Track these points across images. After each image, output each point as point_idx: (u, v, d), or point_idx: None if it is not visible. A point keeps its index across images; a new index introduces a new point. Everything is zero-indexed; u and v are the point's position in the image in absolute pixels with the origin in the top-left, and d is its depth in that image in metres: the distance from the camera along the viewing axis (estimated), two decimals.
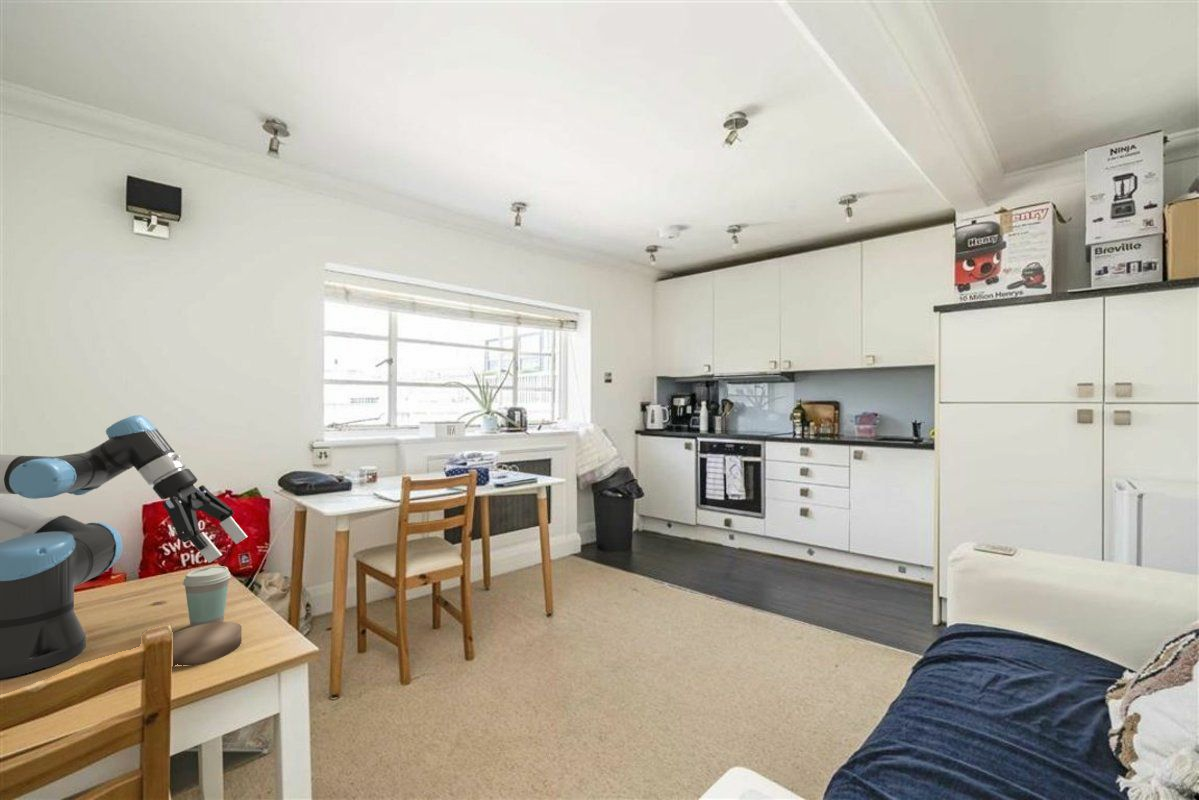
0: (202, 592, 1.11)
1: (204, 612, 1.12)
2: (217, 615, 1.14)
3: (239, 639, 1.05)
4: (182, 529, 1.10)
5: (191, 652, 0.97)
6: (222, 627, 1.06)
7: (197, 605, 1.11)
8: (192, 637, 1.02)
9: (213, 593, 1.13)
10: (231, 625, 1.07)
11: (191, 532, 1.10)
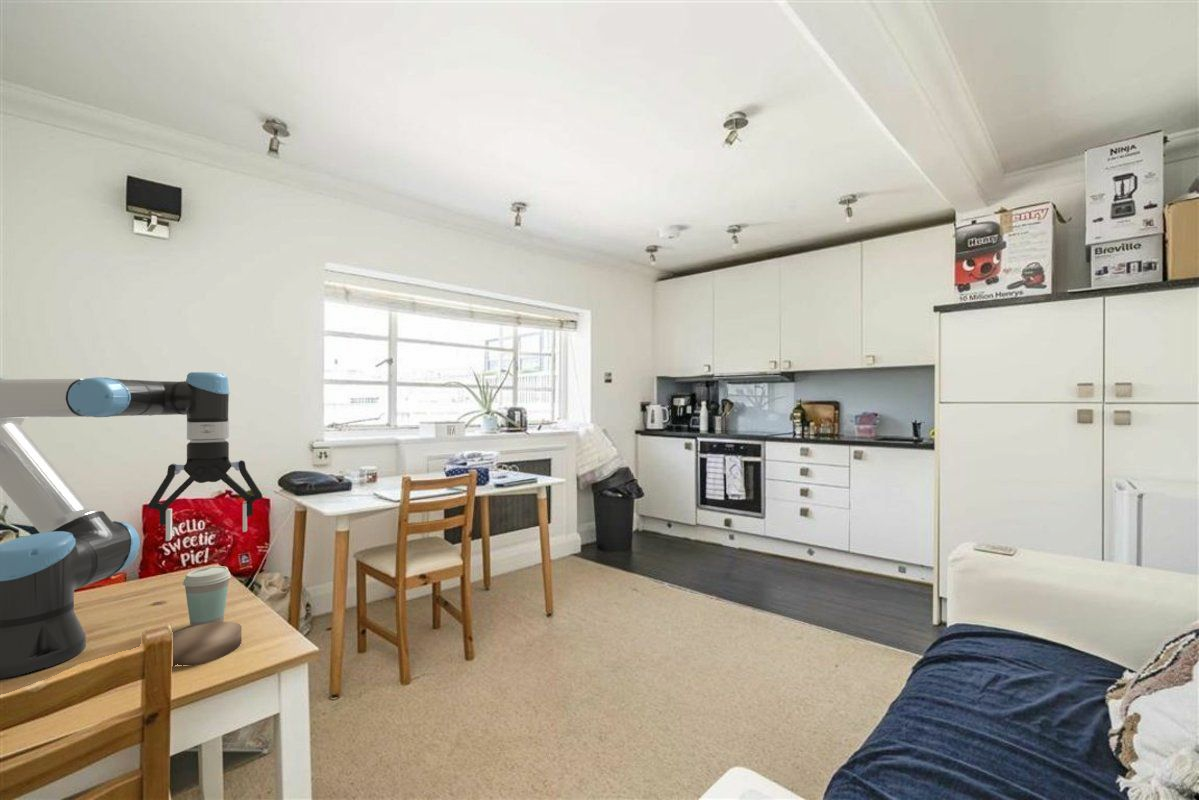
0: (202, 592, 1.11)
1: (204, 612, 1.12)
2: (217, 615, 1.14)
3: (239, 639, 1.05)
4: None
5: (191, 652, 0.97)
6: (222, 627, 1.06)
7: (197, 605, 1.11)
8: (192, 637, 1.02)
9: (213, 593, 1.13)
10: (231, 625, 1.07)
11: (150, 507, 1.08)
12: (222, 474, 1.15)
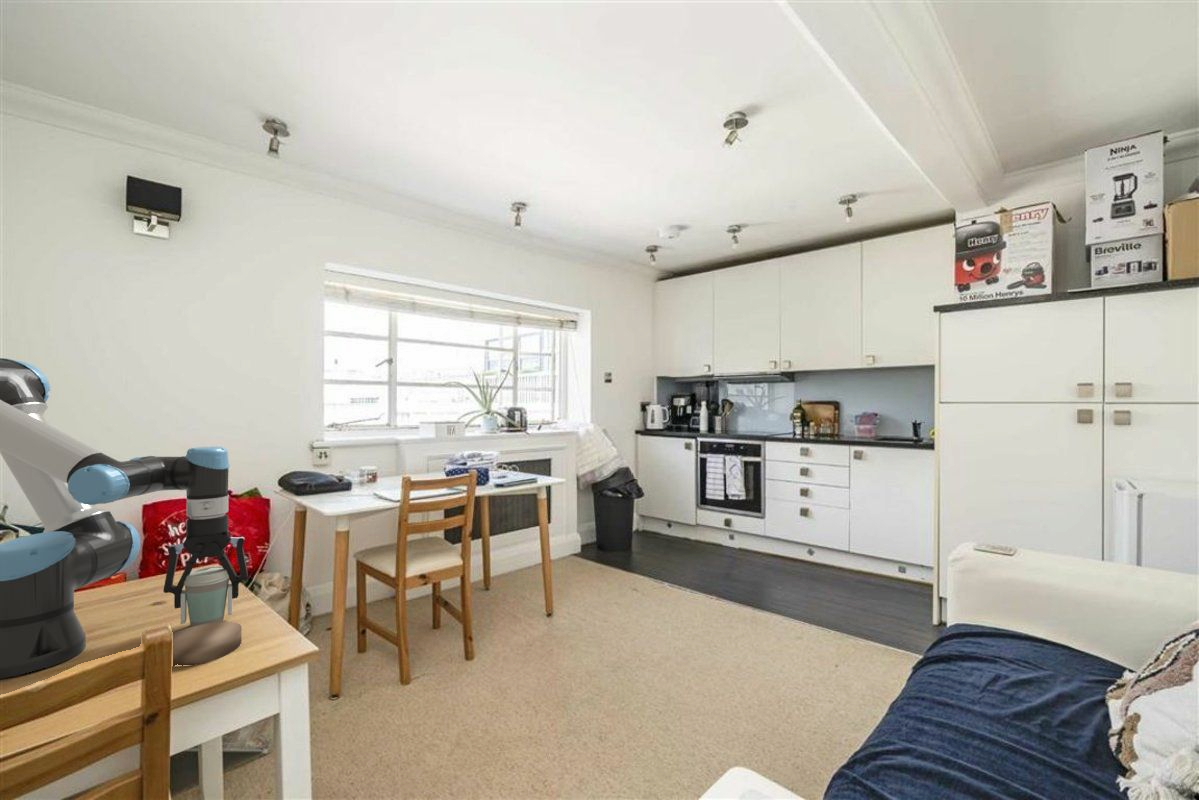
0: (202, 592, 1.11)
1: (204, 612, 1.12)
2: (217, 615, 1.14)
3: (239, 639, 1.05)
4: None
5: (191, 652, 0.97)
6: (222, 627, 1.06)
7: (197, 605, 1.11)
8: (192, 637, 1.02)
9: (213, 593, 1.13)
10: (231, 625, 1.07)
11: (165, 591, 1.10)
12: (219, 551, 1.15)
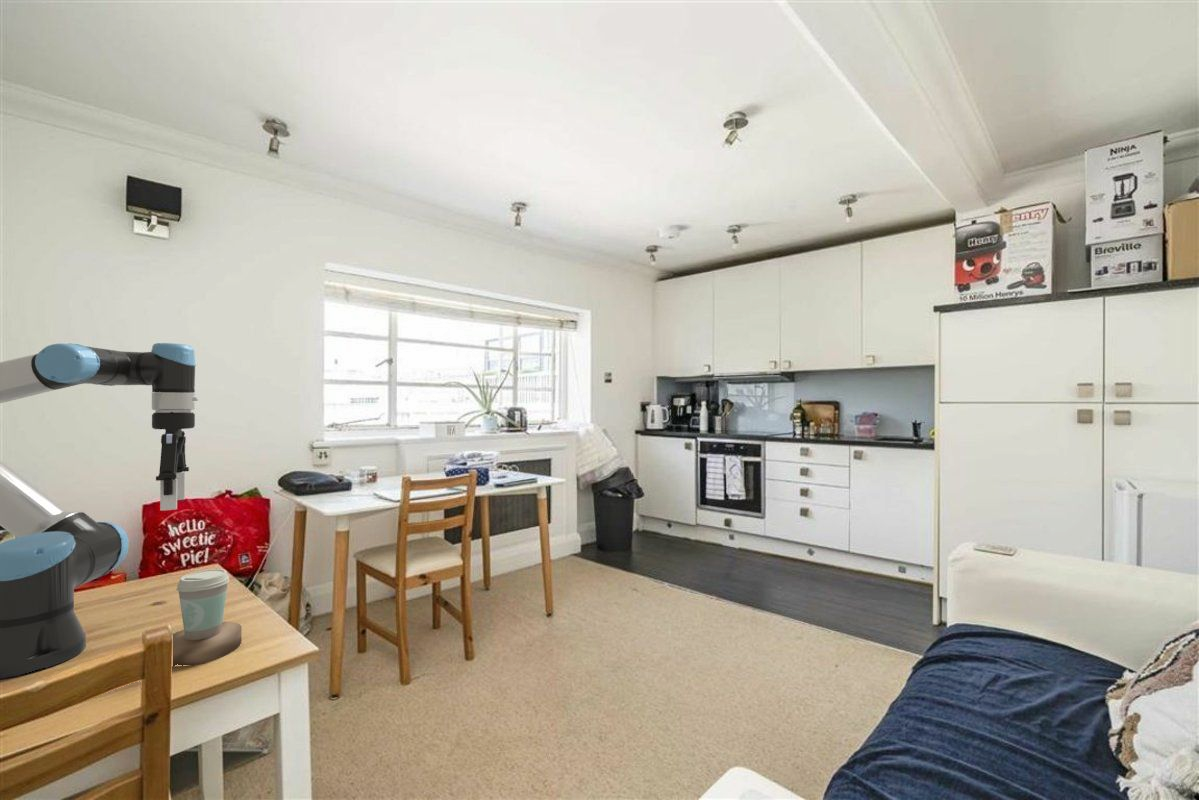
0: (226, 588, 1.05)
1: (223, 611, 1.05)
2: None
3: (239, 639, 1.05)
4: (167, 468, 1.08)
5: (191, 652, 0.97)
6: (222, 627, 1.06)
7: (222, 605, 1.04)
8: None
9: None
10: (231, 625, 1.07)
11: (174, 475, 1.09)
12: (184, 443, 1.19)
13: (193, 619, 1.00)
